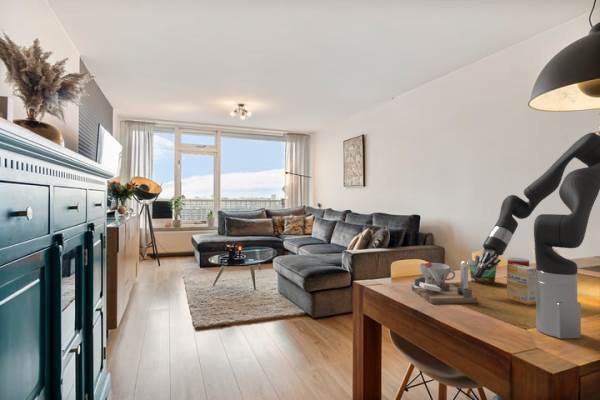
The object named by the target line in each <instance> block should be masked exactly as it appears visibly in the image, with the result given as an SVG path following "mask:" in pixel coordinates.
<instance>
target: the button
mask: <svg viewBox="0 0 600 400" xmlns="http://www.w3.org/2000/svg"><path fill="white" fill-rule="evenodd" d="M420 282H422V283H426V280H425V277H423V276H414V284H415V285H417V286H419V284H420Z"/></svg>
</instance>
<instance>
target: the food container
mask: <svg viewBox="0 0 600 400" xmlns="http://www.w3.org/2000/svg"><path fill="white" fill-rule="evenodd" d="M467 263H468V267H469V274H470V281H471V282H472V283H475V284H479V285H494V284H495V281H496V273H497V267H499V263H498V264H497V265H495V266H494V267H493V268H492V269H491V270H487V271H485V272H484V274H483V275H482V277H481V279H477V278H476V277H474V274H475V272H476V270H477V267H476V266H475V260H472V259H468V261H467Z"/></svg>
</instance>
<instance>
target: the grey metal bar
mask: <svg viewBox="0 0 600 400" xmlns="http://www.w3.org/2000/svg"><path fill="white" fill-rule="evenodd" d="M459 265H460V287H461V294H463V290H469V264H468V261H464V260H463V261H461V262H460V264H459Z"/></svg>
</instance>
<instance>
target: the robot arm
mask: <svg viewBox="0 0 600 400" xmlns="http://www.w3.org/2000/svg"><path fill="white" fill-rule="evenodd" d="M574 158H576V159H577V160H578V161H580V162H581V163H583V164H584V165H586V166H587V167H581V168H577V169H574V170H572V171H570V172H569V173H568V174H567V175H565V177H564V179H563V175H564V173H565V170H566V168H567V166H568V165H569V163H570V162H571V161H573V159H574ZM562 179H563V181H562ZM561 182H562V183H561ZM560 184H561V185H560ZM559 186H560V187H559ZM558 188H559V190H558V195H559V197H560V200H561V201H562V203H563V204H564V205H565V207H567V208H568V209H569V210H570V212H571V213H570V214H560V213H559V214H554V213H552V214H551V213H547V214H546V213H545V214H544V213H541V214H538V215H537V216H536V218H535V219H534V222H533V223H534V224H533V239H534V241H533V242H534V258H535V265H536V266H535V268H536V304H535V305H536V306H535V307H536V309H535V311H536V314H535V315H536V316H535V317H536V330H537V331H538V332H539V333H542V334H545V335H547V336H550V337H555V338H556V339H557V338H558V339H561V340H562V339H565V340H566V339H581V338H582V333H581V332H582V326H581V325H582V322H581V321H582V319H581V318H582V315H581V313H582V310H581V309H582V307H581V306H582V304H581V303H580V302H579V301H578V265H577V263H576V262H575V261H573V260H571V259H568V258H566V257H563V256H561V255H560V254H558V253H557V252H556V251H555V249H554V248H560V249H561V248H563V249H576V248H577V249H578V248H579V247H580V246H581V245H582V243H583V242H584V240H585V236H586V232H587V228H588V223H589V219H590V217H591V216H590V215H591V213H592V209H593V207H594V204H595V201H596V200H597V198H598V196H599V192H600V134H598V133H596V132H588V133H586V134H584V135H583V136H582V137H580V138H579V139H578V140H577V141H575V142H574V143H573V144H572V145H570V147H569V148H568V149H567V150H565V152H564V153H563V154H562V155H560V156H559V158H557V159H556V161H555V162H554V163H552V165H551V166H550V167H549V168H548V169H547V170H546V171H545V172H544V173H543V174H542V175H540V177H538V178H537V179H536V180H534V181H533V182H532V183H530V184H529V185H528V186H527V187H526V188H524V189H523V195H524V196H525V197H526V199H528V201H525V200H524V199H522V198H521V197H519V196H518V195H515V194H510V195H507V196H506V197H505V198H504V200H503V201H502V203H501V207H500V212H499V216H498V219H497V221H496V223H495V225H494V226H493V228H492V229H491V231H490V232H489V233H488V235H487V237H486V239H485V240H484V243H483V244H482V247H483V251H481V254H480V255H478V254H477V255H475V257H474V258H475V260H474V261H475V266H476V267H477V270H476V272H475V274H474V277H476V278H477V279H481V277H482V275H483V274H484V272H485V271H487V270H491V269H492V268H493V267H494V266H495V265H497V264H498V265H499V263H500V262H501V259H500V258H499V256H503V255H504V254H505V251H506V249H507V247H508V246H509V244H510V242H511V240H512V238H513V235H514V234H515V232H516V230H517V228H518V227H519V226H518V225H519V223H518V221H517V220H516V218H517V219H519V220H523V219H524V220H525V219H527V218H528V217H530V216H531V214H532V213H533V212H534V211H535V209H536V207H537V206H538V205H539V204H540V203H541V202H543V200H545V199H546V198H547V197H549V196H550V195H552V194H553V193H554V192H555V191H556V190H557V189H558ZM513 216H514V217H513Z"/></svg>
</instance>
